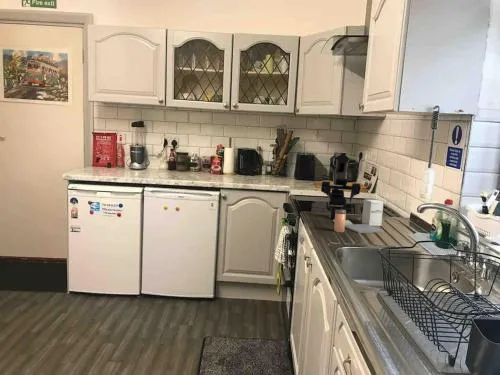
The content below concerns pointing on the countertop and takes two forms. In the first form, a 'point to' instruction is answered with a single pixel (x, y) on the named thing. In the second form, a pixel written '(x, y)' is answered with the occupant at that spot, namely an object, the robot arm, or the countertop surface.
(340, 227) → the terracotta jar
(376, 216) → the supplement box
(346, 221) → the sage tile
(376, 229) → the gray board
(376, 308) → the countertop surface
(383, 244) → the countertop surface
